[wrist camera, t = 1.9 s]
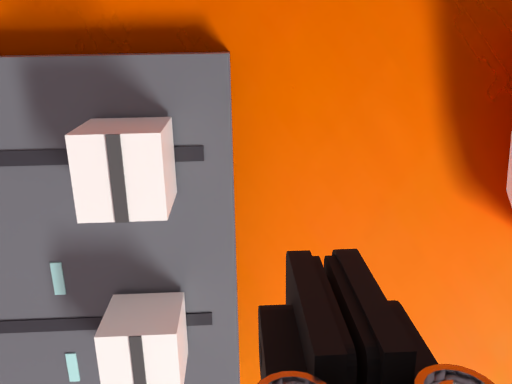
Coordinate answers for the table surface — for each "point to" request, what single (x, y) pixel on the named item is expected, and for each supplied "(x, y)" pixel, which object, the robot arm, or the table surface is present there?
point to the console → (110, 233)
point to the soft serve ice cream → (510, 175)
